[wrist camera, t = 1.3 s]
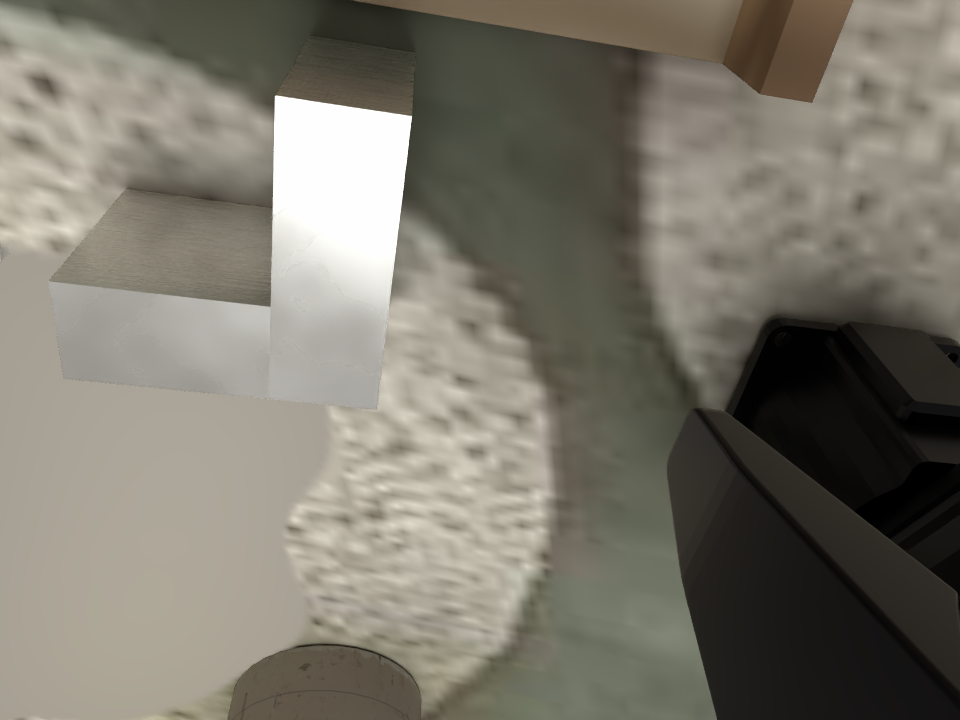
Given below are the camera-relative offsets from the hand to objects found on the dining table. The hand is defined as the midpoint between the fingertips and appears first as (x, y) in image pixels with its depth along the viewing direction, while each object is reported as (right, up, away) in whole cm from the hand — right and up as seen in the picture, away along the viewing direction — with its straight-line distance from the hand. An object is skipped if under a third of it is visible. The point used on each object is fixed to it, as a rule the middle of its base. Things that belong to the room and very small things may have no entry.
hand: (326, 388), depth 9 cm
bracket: (-4, +5, +11) cm, 13 cm away
